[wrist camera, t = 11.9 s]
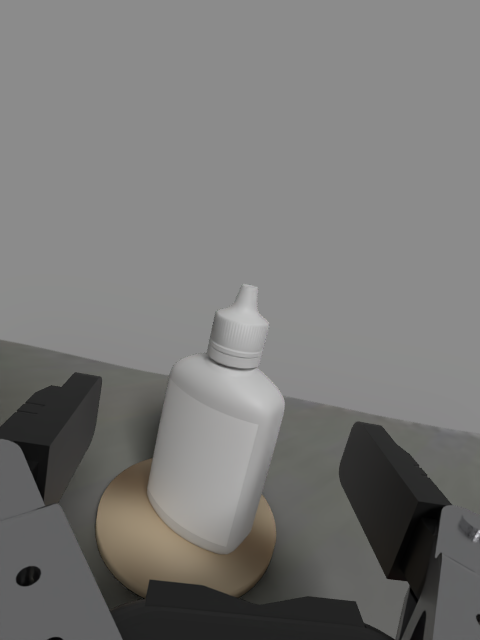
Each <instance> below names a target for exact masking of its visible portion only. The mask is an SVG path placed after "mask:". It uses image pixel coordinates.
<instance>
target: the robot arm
mask: <svg viewBox="0 0 480 640" xmlns="http://www.w3.org/2000/svg"><path fill="white" fill-rule="evenodd" d="M101 386H102V378H101V377H100V376H94V375H88V374H82V373H77V372H75V373H74V374H73V375H72V376H71V377H70V378H69V379H68V380H67V381H66V383H65V384H64V385H63V386H62V387H58V386H52V385H51V386H49V387H47V388H44V389H42V390H40V391H38V392H35V393H34V394H33V395H32V396H31V397H30V398H29V399H28V400H27V401H26V403H25V404H23V405H22V406H21V407H20V408H19V409H18V410H17V413H16V412H15V413H14V414H13V415H12V416H11V417H10V418H9V419H8V420H7V421H6V422H5V423H4V424H3V425H2V426H1V427H0V640H480V515H478V514H476V513H474V512H472V511H470V510H468V509H465V508H463V507H459V506H454V505H452V504H451V503H450V502H449V501H448V499H447V498H446V497H445V496H444V495H443V493H442V492H441V491H440V490H439V489H438V487H437V486H436V485H435V484H434V483H433V482H432V480H431V479H430V478H427V474H426V473H425V472H424V471H423V470H422V468H419V465H418V464H417V462H416V461H415V460H414V459H413V458H412V456H411V455H410V454H409V453H407V452H406V451H405V450H403V449H402V448H401V447H400V446H398V445H397V444H396V443H395V442H394V440H393V439H392V438H391V437H390V436H389V434H388V433H387V432H386V431H385V429H384V428H383V427H382V426H380V425H375V424H369V423H364V422H356V423H355V424H354V425H353V427H352V429H351V432H350V435H349V438H348V441H347V444H346V447H345V450H344V453H343V456H342V459H341V462H340V467H339V478H340V482H341V485H342V487H343V489H344V491H345V493H346V495H347V497H348V499H349V501H350V503H351V506H352V508H353V510H354V512H355V514H356V516H357V518H358V520H359V522H360V524H361V526H362V528H363V530H364V532H365V534H366V537H367V539H368V541H369V543H370V545H371V547H372V549H373V551H374V553H375V555H376V557H377V559H378V561H379V563H380V565H381V567H382V570H383V572H384V574H385V576H386V578H387V579H393V580H401V581H408V583H409V585H410V586H409V588H408V590H407V593H406V595H405V598H404V602H403V607H402V611H401V616H400V621H399V625H398V630H397V634H396V639H393V638H392V637H390V636H388V635H387V634H385V633H383V632H382V631H380V630H378V629H376V628H374V627H372V626H370V625H368V624H365V623H364V622H363V620H362V617H361V614H360V612H359V609H358V606H357V604H356V602H355V601H346V600H336V599H327V598H318V597H308V596H307V597H302V598H296V599H291V600H285V601H280V602H274V603H269V604H263V605H257V604H253V603H250V602H247V601H245V600H242V599H239V598H236V597H234V596H231V595H228V594H226V593H223V592H220V591H217V590H215V589H212V588H209V587H207V586H204V585H197V584H187V583H178V582H169V581H160V580H150V579H149V584H148V589H147V594H146V599H145V600H139V601H134V602H130V603H127V604H124V605H120V606H118V607H116V608H114V609H111V610H109V609H108V607H107V605H106V602H105V600H104V598H103V596H102V594H101V592H100V589H99V587H98V585H97V583H96V581H95V579H94V576H93V574H92V572H91V570H90V568H89V566H88V563H87V561H86V559H85V557H84V555H83V553H82V551H81V548H80V546H79V544H78V542H77V540H76V538H75V535H74V533H73V531H72V529H71V527H70V525H69V522H68V520H67V518H66V516H65V514H64V512H63V510H62V508H61V506H60V505H59V504H58V502H59V500H60V499H61V497H62V495H63V493H64V491H65V489H66V488H67V486H68V484H69V482H70V480H71V478H72V477H73V475H74V473H75V471H76V469H77V467H78V466H79V464H80V462H81V460H82V458H83V456H84V455H85V453H86V451H87V449H88V447H89V445H90V443H91V441H92V438H93V435H94V431H95V426H96V421H97V414H98V407H99V400H100V393H101Z"/></svg>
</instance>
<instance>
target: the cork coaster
mask: <svg viewBox="0 0 480 640" xmlns="http://www.w3.org/2000/svg"><path fill="white" fill-rule="evenodd" d="M152 459H153V458H151V459H148V460H145V461H142V462H139V463H137V464H135V465H133V466H131V467H129V468H128V469H126V470H124V471H123V472H122V473H120V474H119V475H118V476H117V477H116V478H115V479H114V480H113V481H112V482H111V483H110V484H109V486H108V487H107V488H106V490H105V492H104V494H103V495H102V497H101V500H100V503H99V506H98V512H97V519H96V526H95V532H96V541H97V546H98V549H99V552H100V554H101V557H102V559H103V561H104V562H105V564H106V566H107V567H108V569H109V570H110V571H111V573H112V574H113V575H114V576H115V577H116V579H117V580H119V581H120V582H121V583H122V584H123V585H124V586H125V587H126V588H128V589H130V590H131V591H133V592H134V593H136V594H137V595H139V596H141V597H143V598H145V599H146V594H147V589H148V584H149V579H150V580H160V581H169V582H178V583H187V584H197V585H204V586H207V587H209V588H212V589H215V590H217V591H220V592H223V593H226V594H228V595H231V596H234V597H236V598H238V597H240V596H242V595H244V594H245V593H246V592H248V591H249V590H250V589H251V588H253V587H254V586H255V585H256V583H257V582H258V581H259V580H260V579H261V578H262V576H263V574H264V573H265V571H266V570H267V567H268V565H269V563H270V560H271V557H272V554H273V550H274V546H275V541H276V527H275V521H274V517H273V514H272V511H271V509H270V507H269V505H268V503H267V501H266V499H265V498H264V497H263V495H262V494H261V498H260V501H259V505H258V508H257V512H256V515H255V519H254V522H253V526H252V529H251V532H250V533H249V534H248V536H247V537H246V538H245V539H244V540H243V542H242V543H241V544H240V545H239V546H238V547H237V548H236V549H235V550H234V551H233V552H231V553H229V554H217V553H213V552H211V551H208V550H205V549H203V548H200V547H198V546H196V545H194V544H192V543H191V542H189V541H187V540H185V539H184V538H182V537H181V536H179V535H178V534H177V533H175V532H174V531H173V530H172V529H171V528H169V527H168V526H167V525H166V524H165V523H164V522H163V520H162V519H161V518H160V517H159V516H158V514H157V513H156V511H155V510H154V508H153V507H152V505H151V503H150V501H149V498H148V495H147V486H148V480H149V475H150V469H151V464H152Z"/></svg>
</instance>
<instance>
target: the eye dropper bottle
mask: <svg viewBox="0 0 480 640" xmlns="http://www.w3.org/2000/svg"><path fill="white" fill-rule="evenodd" d="M257 297H258V288H257V287H255V286H252V285H248V284H242V286H241V288H240V291H239V293H238V295H237V297H236V300H235V302H234V303H233V304H232V305H231V306H230V307H227V308H223V309H219V310H217V311H216V313H215V317H214V322H213V327H212V331H211V336H210V340H209V345H208V349H207V353H198V354H193V355H190V356H187V357H184V358H182V359H180V360H179V361H178V362H176V363H175V364H174V365H173V367H172V369H171V372H170V375H169V379H168V384H167V388H166V393H165V398H164V403H163V408H162V413H161V418H160V423H159V428H158V433H157V438H156V444H155V449H154V454H153V459H152V464H151V469H150V475H149V480H148V486H147V495H148V498H149V501H150V503H151V505H152V507H153V508H154V510H155V511H156V513H157V514H158V516H159V517H160V518H161V519H162V520H163V522H164V523H165V524H166V525H167V526H168V527H169V528H171V529H172V530H173V531H174V532H175V533H177V534H178V535H179V536H181V537H182V538H184V539H185V540H187V541H189V542H191V543H192V544H194V545H196V546H198V547H200V548H203V549H205V550H208V551H211V552H213V553H217V554H229V553H231V552H233V551H234V550H235V549H236V548H237V547H238V546H239V545H240V544H241V543H242V542H243V540H244V539H245V538H246V537H247V536H248V534H249V533H250V532H251V529H252V526H253V522H254V519H255V515H256V512H257V508H258V505H259V501H260V498H261V494H262V491H263V487H264V484H265V480H266V477H267V473H268V469H269V466H270V462H271V459H272V455H273V451H274V448H275V444H276V441H277V437H278V433H279V429H280V426H281V422H282V418H283V414H284V408H285V401H284V398H283V396H282V394H281V392H280V391H279V389H278V388H277V387H276V386H275V384H274V383H273V382H272V381H271V380H270V379H269V378H268V377H267V376H266V375H265V374H264V373H263V372H262V371H261V370H259V369H258V368H257V366H258V365H259V363H260V360H261V356H262V352H263V348H264V344H265V340H266V336H267V332H268V329H269V323H268V321H267V320H266V319H265V318H264V317H262V316H261V315H260V314H259V312H258V310H257Z"/></svg>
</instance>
